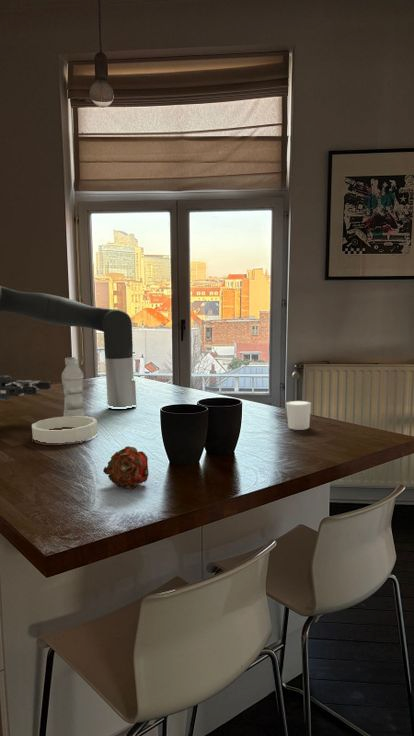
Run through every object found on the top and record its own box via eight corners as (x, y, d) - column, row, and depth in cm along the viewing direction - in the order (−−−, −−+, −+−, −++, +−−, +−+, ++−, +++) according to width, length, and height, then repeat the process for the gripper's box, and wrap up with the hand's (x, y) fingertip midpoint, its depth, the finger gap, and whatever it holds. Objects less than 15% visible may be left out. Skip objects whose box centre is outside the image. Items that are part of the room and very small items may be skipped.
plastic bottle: (59, 425, 166) (54, 359, 164) (74, 420, 172) (70, 356, 169) (76, 427, 163) (71, 359, 161) (91, 422, 169) (87, 357, 166)
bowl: (93, 427, 163) (92, 413, 162) (101, 441, 147) (100, 426, 146) (32, 433, 158) (31, 419, 157) (33, 448, 142) (32, 433, 141)
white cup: (311, 430, 151) (310, 405, 150) (285, 430, 153) (285, 405, 152) (311, 424, 158) (311, 400, 157) (287, 424, 159) (286, 400, 158)
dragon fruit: (133, 504, 106) (120, 493, 118) (165, 473, 109) (150, 465, 120) (103, 472, 105) (93, 463, 116) (137, 441, 107) (124, 435, 118)
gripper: (-20, 379, 164) (30, 379, 161) (6, 372, 178) (53, 372, 175) (-18, 404, 165) (32, 404, 162) (8, 395, 179) (55, 395, 176)
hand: (43, 387), depth 168 cm, fingers open, 8 cm apart
